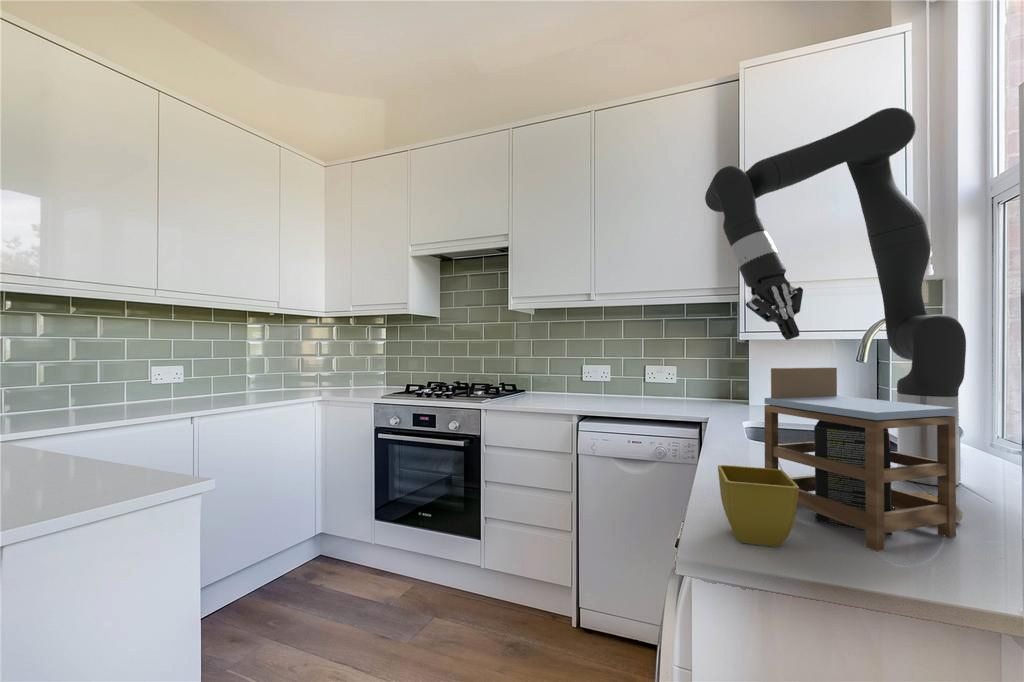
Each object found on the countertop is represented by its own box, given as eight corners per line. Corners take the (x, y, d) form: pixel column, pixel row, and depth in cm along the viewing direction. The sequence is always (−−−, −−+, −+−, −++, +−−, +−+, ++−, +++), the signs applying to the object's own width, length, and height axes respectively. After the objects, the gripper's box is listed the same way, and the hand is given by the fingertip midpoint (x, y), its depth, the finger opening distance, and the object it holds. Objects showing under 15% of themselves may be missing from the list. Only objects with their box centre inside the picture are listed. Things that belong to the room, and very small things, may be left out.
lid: (833, 400, 82) (833, 367, 82) (955, 415, 65) (955, 372, 65) (764, 403, 78) (764, 368, 78) (876, 420, 61) (875, 374, 61)
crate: (834, 497, 82) (833, 401, 82) (956, 536, 65) (955, 416, 65) (764, 506, 77) (764, 405, 78) (876, 551, 60) (876, 421, 61)
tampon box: (893, 538, 64) (892, 432, 64) (813, 522, 70) (813, 425, 70) (889, 515, 73) (888, 422, 73) (819, 502, 78) (818, 416, 79)
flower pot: (800, 557, 59) (800, 486, 59) (726, 548, 61) (726, 480, 61) (782, 530, 67) (781, 469, 67) (717, 523, 70) (717, 464, 70)
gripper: (744, 256, 89) (781, 340, 85) (796, 245, 92) (834, 324, 89) (719, 272, 96) (753, 350, 92) (769, 261, 99) (803, 336, 96)
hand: (793, 338), depth 90 cm, fingers closed
